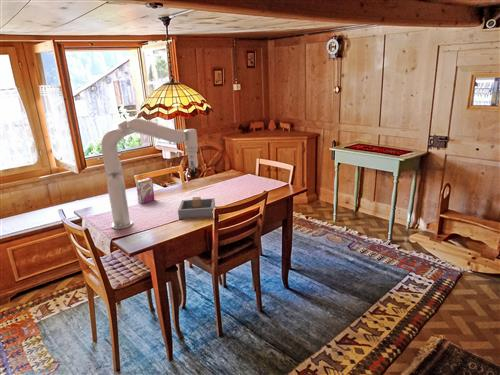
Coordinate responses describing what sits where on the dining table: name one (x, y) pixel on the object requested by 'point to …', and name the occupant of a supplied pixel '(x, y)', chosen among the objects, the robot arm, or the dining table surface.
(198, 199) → the walnut block
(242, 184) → the dining table surface
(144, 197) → the candy bar box
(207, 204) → the bin
